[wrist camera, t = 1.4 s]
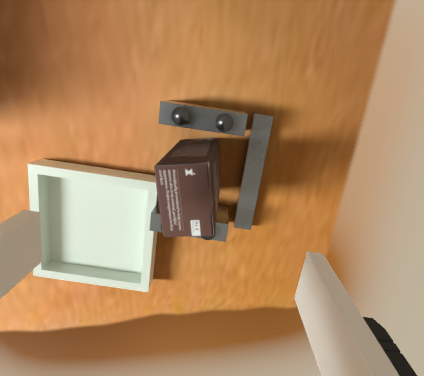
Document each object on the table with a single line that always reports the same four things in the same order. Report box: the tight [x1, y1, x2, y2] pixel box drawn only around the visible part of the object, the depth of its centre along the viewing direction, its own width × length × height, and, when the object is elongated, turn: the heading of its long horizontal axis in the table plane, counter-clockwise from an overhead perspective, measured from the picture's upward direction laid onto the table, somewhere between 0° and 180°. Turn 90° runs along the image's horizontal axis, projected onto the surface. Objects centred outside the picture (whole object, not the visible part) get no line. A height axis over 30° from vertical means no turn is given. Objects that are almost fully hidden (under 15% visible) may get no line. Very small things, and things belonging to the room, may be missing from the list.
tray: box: [28, 159, 158, 292], centre depth 35 cm, size 14×14×3 cm
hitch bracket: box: [149, 100, 274, 242], centre depth 30 cm, size 11×13×6 cm
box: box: [154, 138, 220, 237], centre depth 27 cm, size 6×4×12 cm
